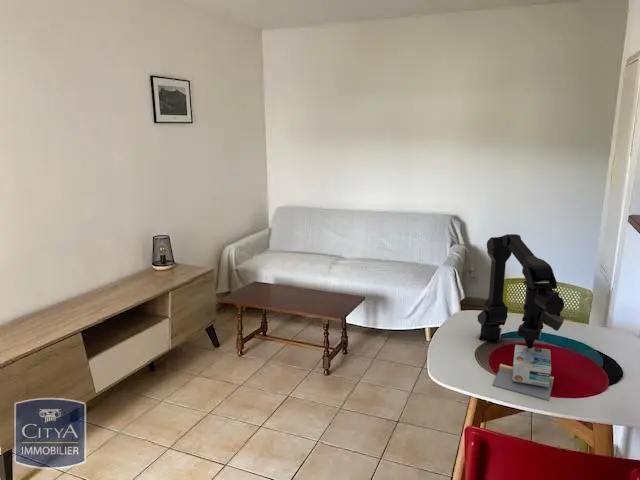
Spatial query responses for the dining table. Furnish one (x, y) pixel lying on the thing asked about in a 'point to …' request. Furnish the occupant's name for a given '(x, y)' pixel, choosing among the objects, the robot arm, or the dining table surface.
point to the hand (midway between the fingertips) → (529, 347)
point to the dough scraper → (521, 384)
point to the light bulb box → (532, 365)
